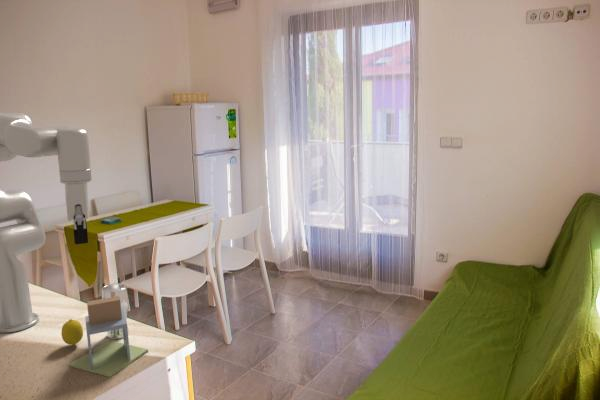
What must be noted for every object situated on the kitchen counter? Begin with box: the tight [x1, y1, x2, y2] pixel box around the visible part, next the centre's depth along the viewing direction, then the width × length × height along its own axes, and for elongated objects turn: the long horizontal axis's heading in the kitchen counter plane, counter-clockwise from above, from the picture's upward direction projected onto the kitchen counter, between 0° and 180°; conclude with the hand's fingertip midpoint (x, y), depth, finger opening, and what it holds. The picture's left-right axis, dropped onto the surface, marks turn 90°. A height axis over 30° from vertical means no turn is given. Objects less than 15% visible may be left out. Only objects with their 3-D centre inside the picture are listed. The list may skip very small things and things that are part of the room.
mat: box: [69, 339, 149, 378], centre depth 131 cm, size 14×14×1 cm
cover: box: [84, 296, 130, 370], centre depth 129 cm, size 10×10×16 cm
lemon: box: [61, 318, 84, 346], centre depth 138 cm, size 6×6×8 cm
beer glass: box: [101, 283, 130, 340], centre depth 143 cm, size 7×7×15 cm
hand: (81, 238), depth 131 cm, fingers open, 9 cm apart
